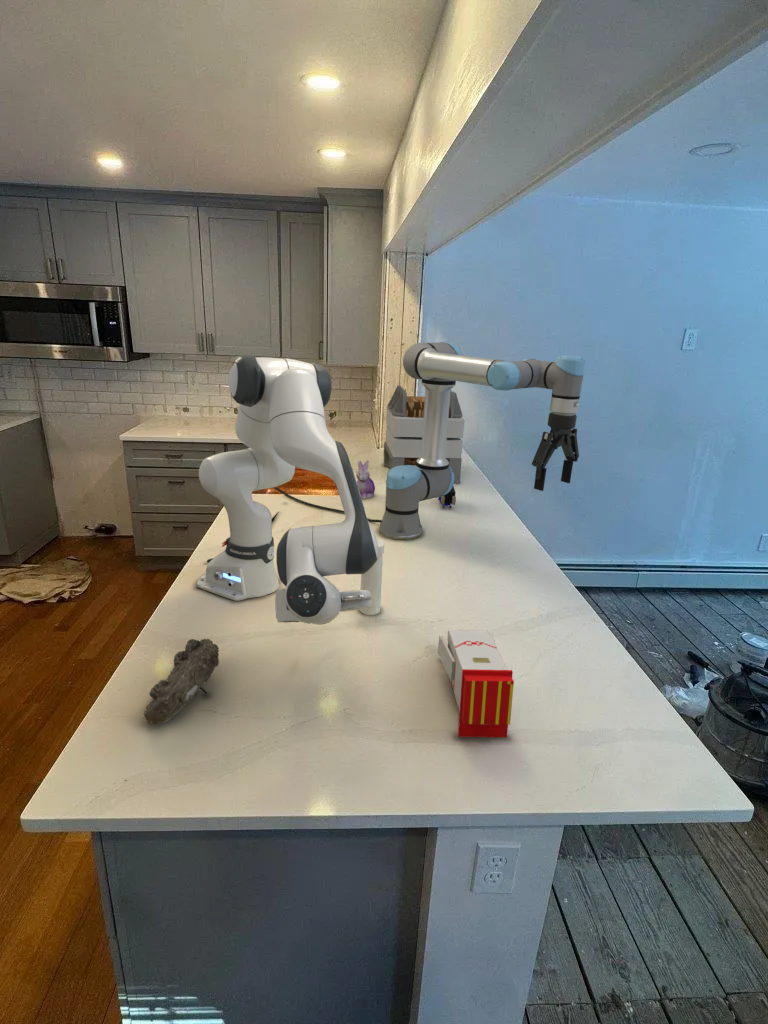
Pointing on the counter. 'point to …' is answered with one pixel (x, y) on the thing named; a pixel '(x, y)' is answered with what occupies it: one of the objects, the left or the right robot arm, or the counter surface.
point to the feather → (274, 517)
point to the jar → (373, 586)
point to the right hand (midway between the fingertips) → (552, 485)
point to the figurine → (365, 481)
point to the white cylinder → (380, 547)
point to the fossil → (183, 680)
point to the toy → (478, 682)
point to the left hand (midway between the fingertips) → (327, 606)
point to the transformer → (419, 431)
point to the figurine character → (448, 498)
